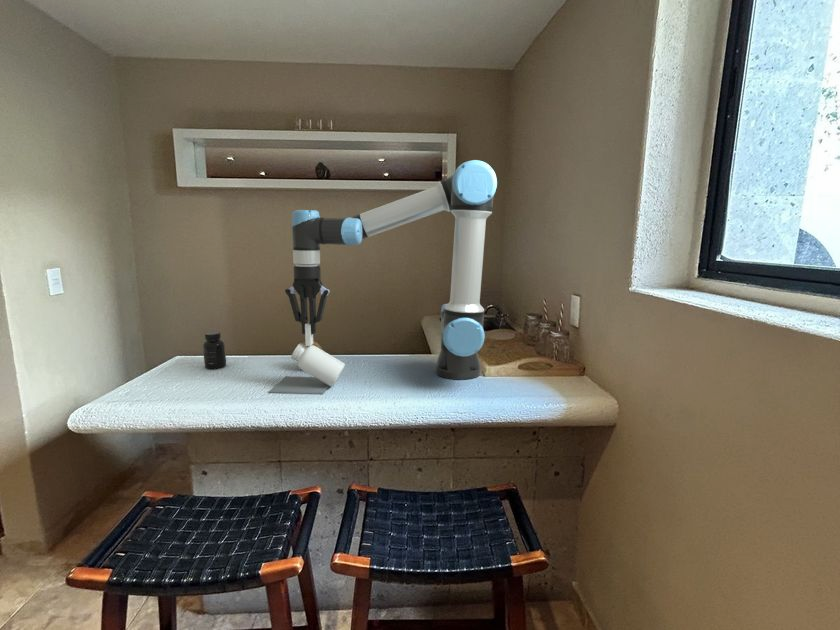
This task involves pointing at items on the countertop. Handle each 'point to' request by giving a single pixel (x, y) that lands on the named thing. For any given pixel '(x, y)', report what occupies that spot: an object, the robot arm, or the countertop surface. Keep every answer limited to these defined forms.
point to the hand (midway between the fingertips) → (309, 344)
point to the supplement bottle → (214, 351)
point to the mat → (299, 385)
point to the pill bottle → (318, 363)
